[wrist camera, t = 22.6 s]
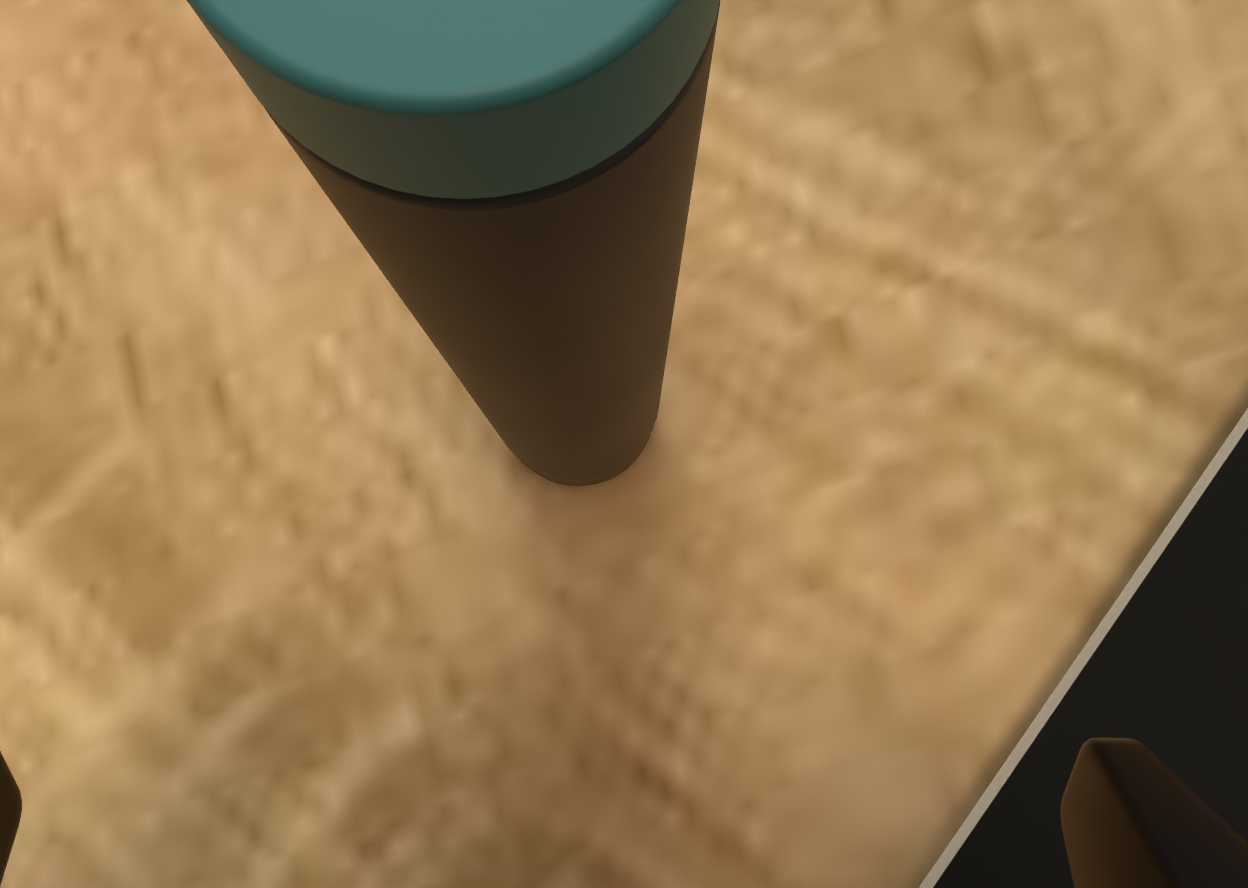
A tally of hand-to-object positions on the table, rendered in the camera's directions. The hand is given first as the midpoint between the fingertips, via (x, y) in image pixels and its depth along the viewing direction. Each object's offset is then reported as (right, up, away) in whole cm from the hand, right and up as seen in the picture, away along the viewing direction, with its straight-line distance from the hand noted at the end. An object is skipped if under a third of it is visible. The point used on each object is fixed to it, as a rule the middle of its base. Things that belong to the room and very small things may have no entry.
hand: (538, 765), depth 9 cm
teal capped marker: (0, +3, +8) cm, 9 cm away
